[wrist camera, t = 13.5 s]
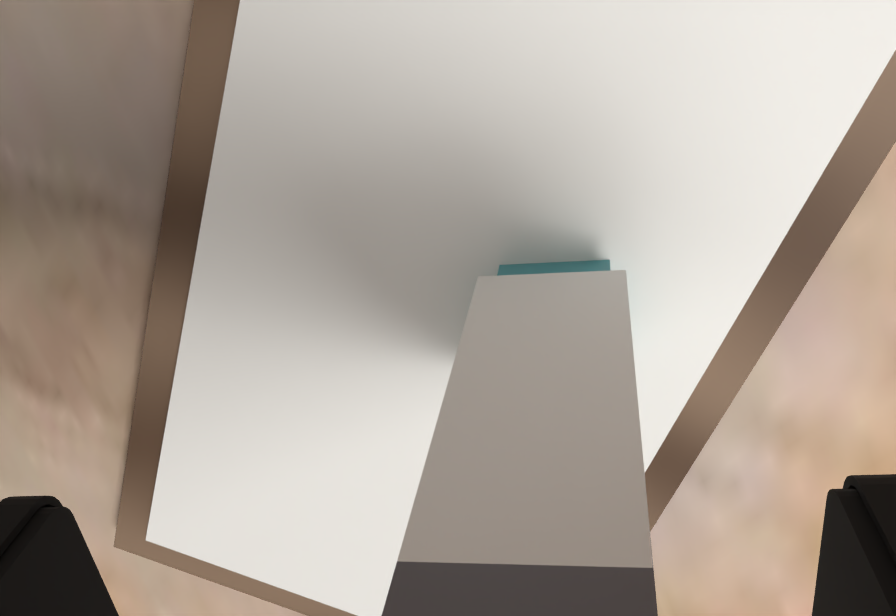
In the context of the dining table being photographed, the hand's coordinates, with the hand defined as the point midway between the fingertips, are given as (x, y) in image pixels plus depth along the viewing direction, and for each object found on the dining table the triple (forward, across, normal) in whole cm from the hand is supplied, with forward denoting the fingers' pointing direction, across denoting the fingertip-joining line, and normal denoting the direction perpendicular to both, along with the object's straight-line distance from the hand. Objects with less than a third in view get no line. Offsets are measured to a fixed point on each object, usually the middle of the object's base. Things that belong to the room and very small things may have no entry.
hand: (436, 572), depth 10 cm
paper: (+9, +1, +2) cm, 9 cm away
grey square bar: (+9, -2, +1) cm, 9 cm away
